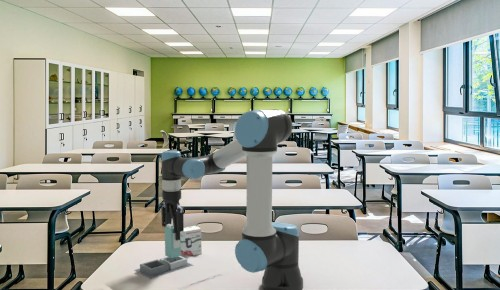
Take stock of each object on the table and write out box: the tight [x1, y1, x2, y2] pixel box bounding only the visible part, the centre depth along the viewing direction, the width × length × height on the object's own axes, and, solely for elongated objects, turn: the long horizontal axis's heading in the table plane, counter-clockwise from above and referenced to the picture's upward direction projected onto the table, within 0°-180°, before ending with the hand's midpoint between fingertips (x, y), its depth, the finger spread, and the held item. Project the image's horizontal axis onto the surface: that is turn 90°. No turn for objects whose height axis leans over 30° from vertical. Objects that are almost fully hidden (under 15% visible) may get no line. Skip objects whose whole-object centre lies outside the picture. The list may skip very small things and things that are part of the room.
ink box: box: [180, 225, 203, 257], centre depth 203 cm, size 8×5×12 cm, turn 123°
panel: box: [134, 255, 194, 280], centre depth 185 cm, size 12×20×4 cm, turn 134°
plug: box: [164, 223, 182, 258], centre depth 187 cm, size 4×4×13 cm
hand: (172, 246), depth 187 cm, fingers closed on plug, 4 cm apart
